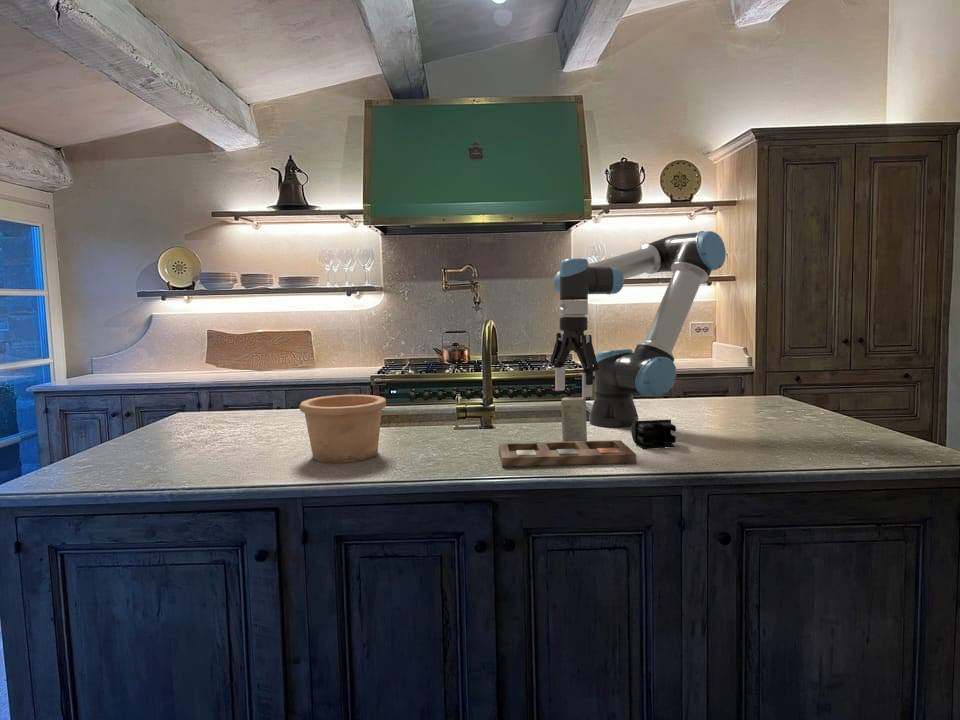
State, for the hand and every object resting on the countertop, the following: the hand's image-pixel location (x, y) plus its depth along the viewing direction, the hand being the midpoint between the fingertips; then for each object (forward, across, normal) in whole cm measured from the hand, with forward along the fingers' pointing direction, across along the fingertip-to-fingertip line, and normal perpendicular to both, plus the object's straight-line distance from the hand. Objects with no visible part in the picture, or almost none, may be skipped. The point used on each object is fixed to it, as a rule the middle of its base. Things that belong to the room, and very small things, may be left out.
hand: (573, 393), depth 176 cm
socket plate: (+14, +14, -12) cm, 23 cm away
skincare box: (+14, 0, 0) cm, 14 cm away
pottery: (+14, -16, -60) cm, 63 cm away
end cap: (+14, +14, +16) cm, 26 cm away
